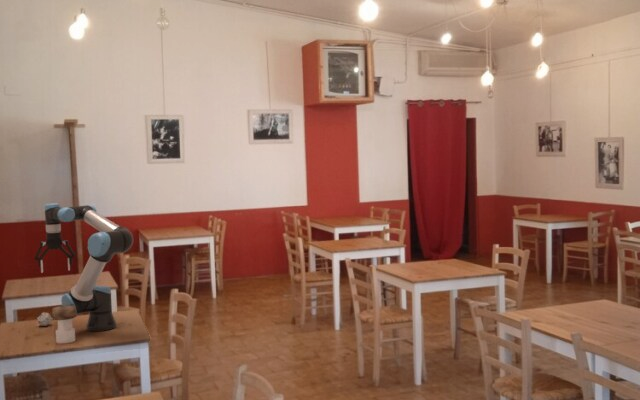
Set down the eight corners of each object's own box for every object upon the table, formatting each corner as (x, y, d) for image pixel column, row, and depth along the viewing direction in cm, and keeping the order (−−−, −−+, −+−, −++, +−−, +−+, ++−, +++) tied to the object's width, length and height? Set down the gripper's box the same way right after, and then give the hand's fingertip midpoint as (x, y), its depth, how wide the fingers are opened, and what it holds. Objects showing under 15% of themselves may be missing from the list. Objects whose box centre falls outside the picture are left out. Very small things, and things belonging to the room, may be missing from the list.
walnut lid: (76, 314, 346) (76, 304, 346) (75, 318, 335) (75, 308, 335) (53, 316, 343) (53, 306, 342) (51, 321, 332) (51, 310, 332)
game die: (49, 332, 376) (59, 317, 377) (38, 330, 369) (49, 315, 369) (39, 323, 380) (50, 308, 381) (29, 321, 372) (40, 305, 373)
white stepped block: (62, 338, 345) (60, 315, 344) (78, 338, 344) (77, 315, 343) (52, 343, 336) (51, 319, 335) (69, 343, 335) (68, 319, 334)
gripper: (78, 230, 370) (80, 268, 372) (29, 233, 363) (31, 272, 364) (77, 231, 363) (80, 270, 364) (27, 234, 356) (30, 274, 357)
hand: (55, 271), depth 364 cm, fingers open, 13 cm apart
